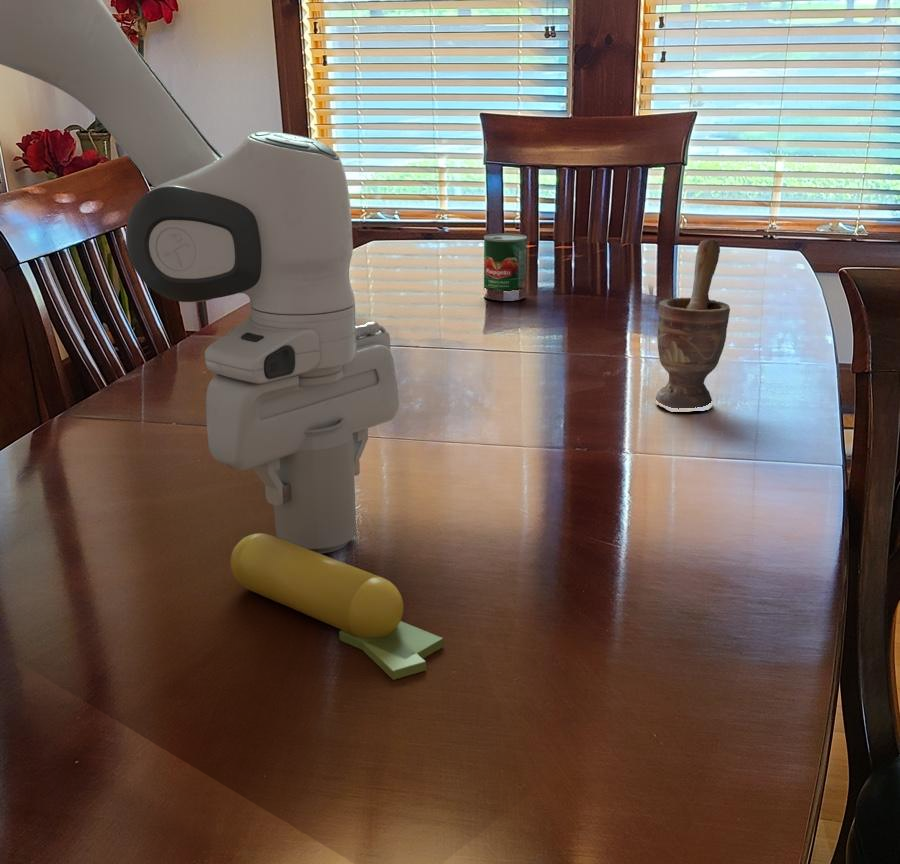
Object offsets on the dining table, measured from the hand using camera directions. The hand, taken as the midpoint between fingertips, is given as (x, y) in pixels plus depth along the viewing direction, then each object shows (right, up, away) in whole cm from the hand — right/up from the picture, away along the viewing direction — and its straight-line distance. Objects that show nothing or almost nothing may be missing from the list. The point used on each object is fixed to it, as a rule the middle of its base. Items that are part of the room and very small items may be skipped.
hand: (314, 489), depth 99 cm
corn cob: (+3, -12, -12) cm, 17 cm away
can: (0, -5, +3) cm, 6 cm away
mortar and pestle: (+43, +16, +42) cm, 62 cm away
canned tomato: (+23, +46, +103) cm, 115 cm away
